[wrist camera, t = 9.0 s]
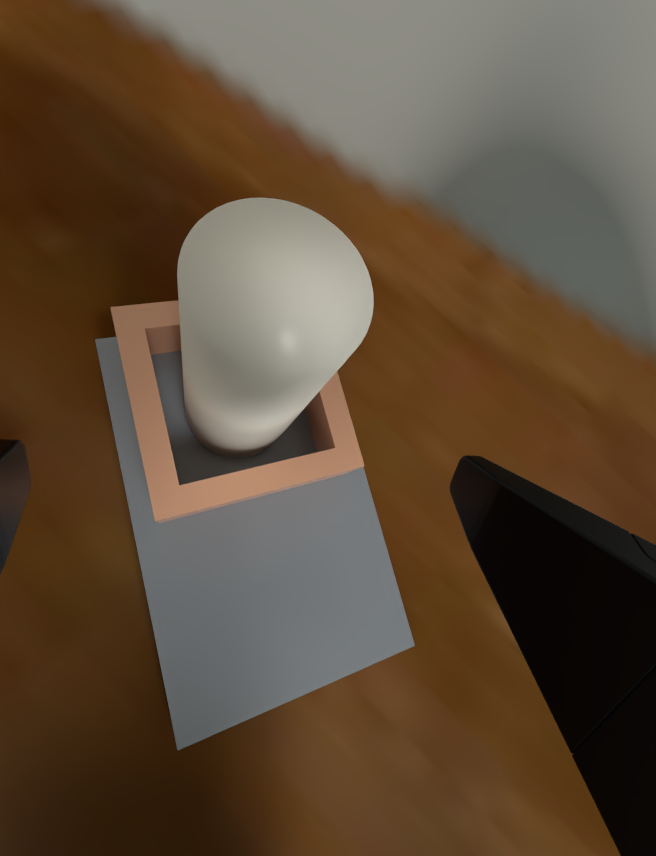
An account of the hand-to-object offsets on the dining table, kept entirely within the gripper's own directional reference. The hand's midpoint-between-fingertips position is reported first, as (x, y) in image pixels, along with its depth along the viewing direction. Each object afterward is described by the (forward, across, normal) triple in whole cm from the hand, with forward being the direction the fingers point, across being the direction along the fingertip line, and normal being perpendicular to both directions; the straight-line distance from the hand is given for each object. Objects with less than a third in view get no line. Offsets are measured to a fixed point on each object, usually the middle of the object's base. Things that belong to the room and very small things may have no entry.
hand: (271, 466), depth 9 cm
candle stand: (+8, -1, +8) cm, 11 cm away
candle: (+10, 0, +4) cm, 10 cm away
